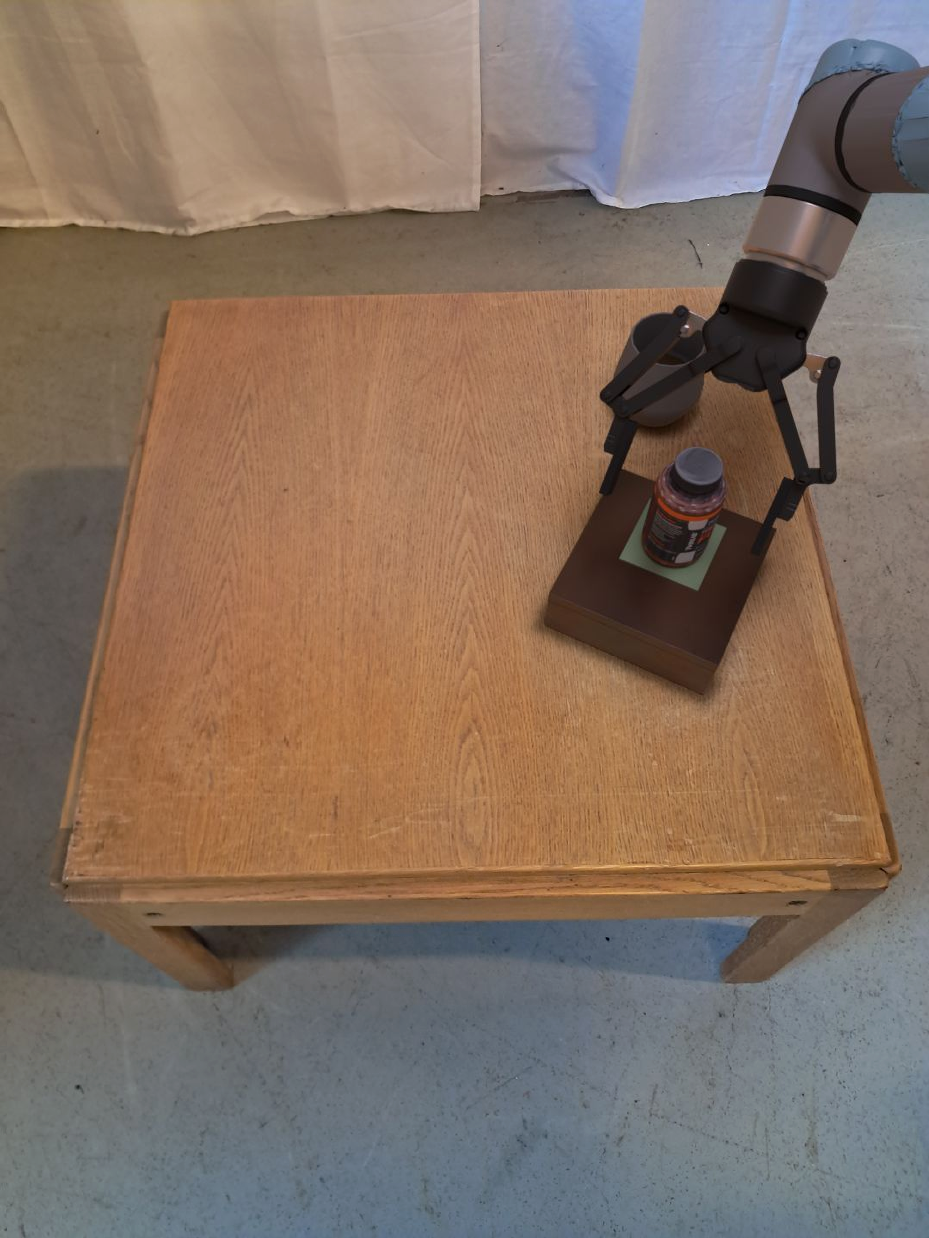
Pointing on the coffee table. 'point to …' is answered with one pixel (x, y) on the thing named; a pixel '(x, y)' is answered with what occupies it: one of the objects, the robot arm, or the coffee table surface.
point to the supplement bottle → (684, 507)
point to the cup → (662, 370)
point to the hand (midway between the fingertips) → (678, 522)
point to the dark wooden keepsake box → (655, 589)
